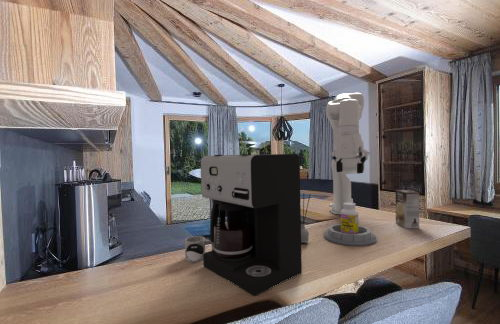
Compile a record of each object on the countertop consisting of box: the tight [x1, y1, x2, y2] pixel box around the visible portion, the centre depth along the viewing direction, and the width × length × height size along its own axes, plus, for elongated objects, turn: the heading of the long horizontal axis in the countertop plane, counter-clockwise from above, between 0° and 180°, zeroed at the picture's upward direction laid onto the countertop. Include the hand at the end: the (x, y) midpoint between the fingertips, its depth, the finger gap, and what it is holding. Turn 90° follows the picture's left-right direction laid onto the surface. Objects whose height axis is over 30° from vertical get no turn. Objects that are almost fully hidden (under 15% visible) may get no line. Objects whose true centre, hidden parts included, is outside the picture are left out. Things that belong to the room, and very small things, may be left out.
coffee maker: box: [200, 153, 303, 297], centre depth 81 cm, size 28×20×35 cm
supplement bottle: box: [340, 202, 359, 234], centre depth 108 cm, size 7×7×13 cm
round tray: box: [323, 223, 378, 247], centre depth 108 cm, size 20×20×4 cm
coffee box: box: [395, 189, 420, 229], centre depth 123 cm, size 9×6×16 cm
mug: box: [184, 235, 214, 263], centre depth 91 cm, size 10×7×7 cm
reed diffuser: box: [301, 194, 311, 244], centre depth 103 cm, size 10×7×20 cm
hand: (349, 172), depth 109 cm, fingers open, 9 cm apart
